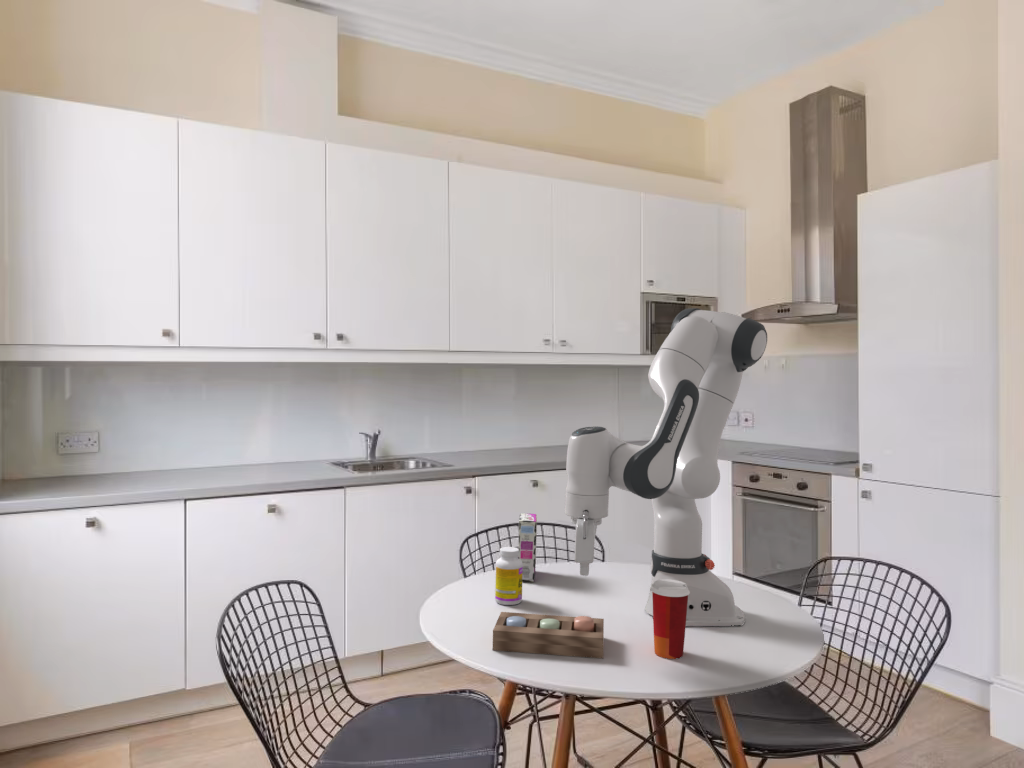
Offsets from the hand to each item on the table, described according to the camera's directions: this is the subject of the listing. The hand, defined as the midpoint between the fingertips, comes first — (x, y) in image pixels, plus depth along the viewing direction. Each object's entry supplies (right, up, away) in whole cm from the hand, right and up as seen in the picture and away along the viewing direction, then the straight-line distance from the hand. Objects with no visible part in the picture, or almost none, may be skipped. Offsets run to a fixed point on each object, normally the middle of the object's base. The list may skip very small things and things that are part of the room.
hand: (584, 573), depth 141 cm
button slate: (-14, -13, +2) cm, 19 cm away
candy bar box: (-11, -14, +49) cm, 52 cm away
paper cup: (+17, -16, -3) cm, 23 cm away
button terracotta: (0, -12, 0) cm, 12 cm away
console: (-7, -15, +1) cm, 16 cm away
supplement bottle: (-16, -15, +27) cm, 35 cm away
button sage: (-7, -13, +1) cm, 15 cm away
